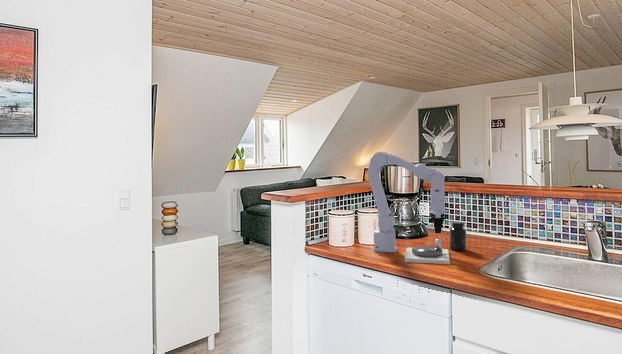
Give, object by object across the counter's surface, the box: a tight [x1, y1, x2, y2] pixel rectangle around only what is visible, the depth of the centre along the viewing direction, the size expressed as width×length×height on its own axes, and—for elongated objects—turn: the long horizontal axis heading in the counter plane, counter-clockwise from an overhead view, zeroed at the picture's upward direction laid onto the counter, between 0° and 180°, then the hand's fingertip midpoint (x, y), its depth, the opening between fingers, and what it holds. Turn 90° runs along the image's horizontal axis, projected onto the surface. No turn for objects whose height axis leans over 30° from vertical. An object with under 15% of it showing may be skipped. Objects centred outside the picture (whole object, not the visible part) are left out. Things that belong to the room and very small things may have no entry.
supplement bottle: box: [449, 221, 467, 252], centre depth 167 cm, size 7×7×12 cm
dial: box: [411, 238, 443, 257], centre depth 157 cm, size 12×12×6 cm
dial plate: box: [404, 247, 451, 265], centre depth 157 cm, size 17×17×2 cm
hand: (437, 231), depth 161 cm, fingers open, 5 cm apart
